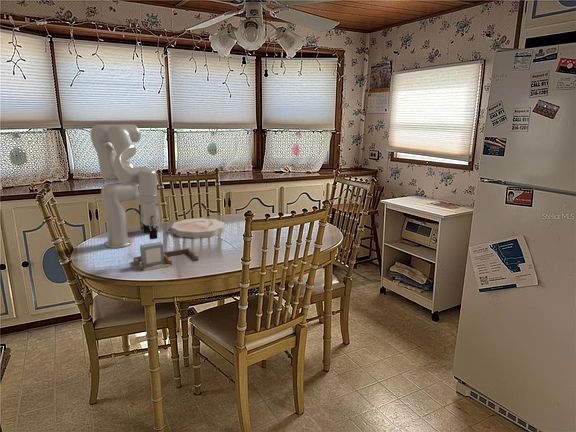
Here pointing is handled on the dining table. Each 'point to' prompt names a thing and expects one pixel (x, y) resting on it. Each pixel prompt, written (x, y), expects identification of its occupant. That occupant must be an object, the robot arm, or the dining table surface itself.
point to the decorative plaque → (198, 228)
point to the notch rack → (166, 258)
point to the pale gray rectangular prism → (152, 254)
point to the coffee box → (150, 223)
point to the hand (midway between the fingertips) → (150, 235)
